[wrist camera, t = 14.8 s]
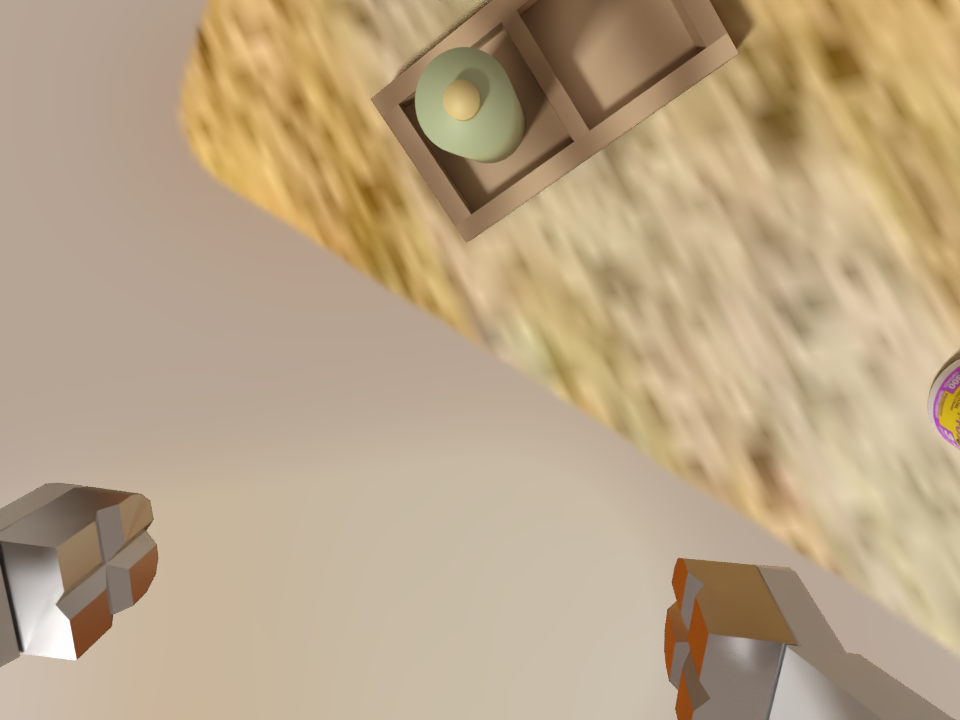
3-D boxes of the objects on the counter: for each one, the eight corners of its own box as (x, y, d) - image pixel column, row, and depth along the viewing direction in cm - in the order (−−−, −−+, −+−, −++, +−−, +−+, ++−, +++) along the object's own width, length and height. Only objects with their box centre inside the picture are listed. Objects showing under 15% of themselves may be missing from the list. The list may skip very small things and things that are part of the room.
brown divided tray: (636, -102, 32) (642, -123, 30) (727, 62, 33) (738, 53, 31) (381, 104, 37) (370, 99, 34) (471, 239, 38) (466, 242, 36)
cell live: (498, 69, 35) (473, 19, 24) (539, 134, 35) (531, 112, 25) (439, 116, 36) (391, 87, 25) (479, 178, 36) (449, 174, 26)
